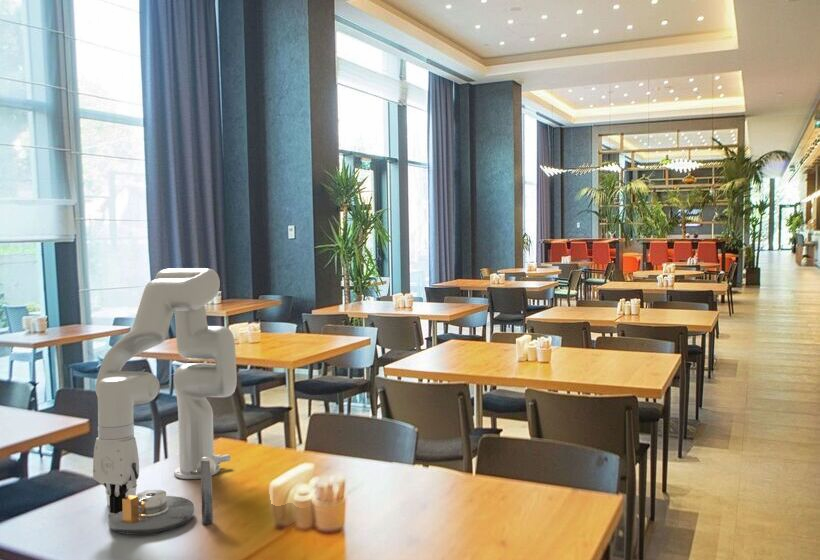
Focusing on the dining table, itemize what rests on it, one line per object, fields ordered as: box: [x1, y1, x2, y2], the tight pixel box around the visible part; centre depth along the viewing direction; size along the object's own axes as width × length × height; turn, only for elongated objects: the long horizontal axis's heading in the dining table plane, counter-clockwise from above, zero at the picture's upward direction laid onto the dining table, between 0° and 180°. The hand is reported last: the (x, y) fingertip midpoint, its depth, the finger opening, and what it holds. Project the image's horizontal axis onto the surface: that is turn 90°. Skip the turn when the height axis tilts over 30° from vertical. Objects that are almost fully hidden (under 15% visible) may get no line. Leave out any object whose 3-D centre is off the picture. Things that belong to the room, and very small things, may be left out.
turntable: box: [107, 495, 195, 535], centre depth 169 cm, size 19×19×7 cm
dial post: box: [190, 457, 216, 526], centre depth 168 cm, size 6×2×16 cm, turn 86°
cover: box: [136, 489, 168, 518], centre depth 168 cm, size 8×8×4 cm
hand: (117, 511), depth 164 cm, fingers closed
